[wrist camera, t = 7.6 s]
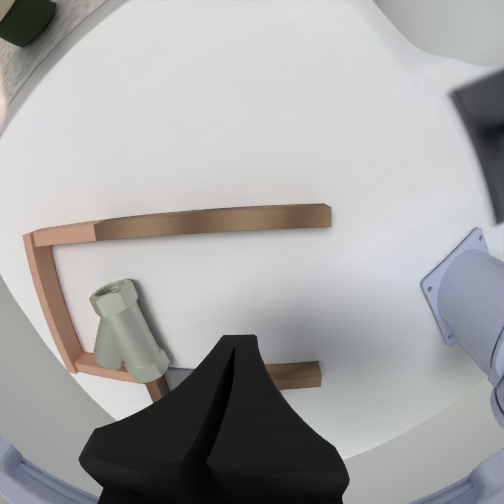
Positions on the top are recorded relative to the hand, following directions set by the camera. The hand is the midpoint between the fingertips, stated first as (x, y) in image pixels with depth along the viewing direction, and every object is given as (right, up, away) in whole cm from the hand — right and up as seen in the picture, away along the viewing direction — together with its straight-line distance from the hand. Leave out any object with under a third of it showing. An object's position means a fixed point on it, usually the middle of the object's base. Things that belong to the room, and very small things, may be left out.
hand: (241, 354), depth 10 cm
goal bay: (-14, 0, +10) cm, 17 cm away
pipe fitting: (-11, -2, +11) cm, 16 cm away
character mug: (-23, +29, +2) cm, 37 cm away
